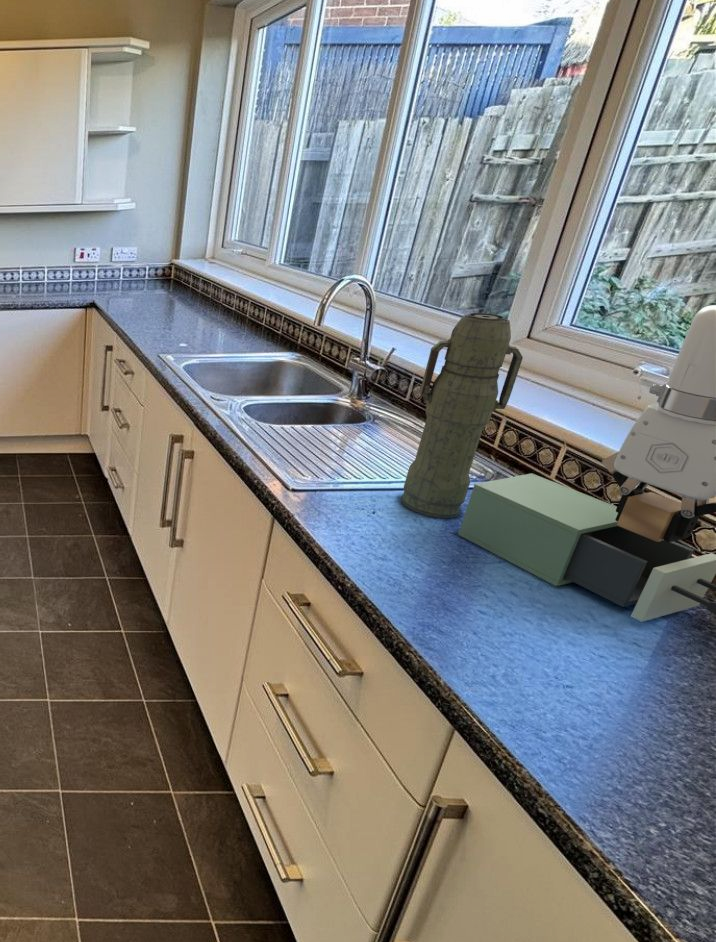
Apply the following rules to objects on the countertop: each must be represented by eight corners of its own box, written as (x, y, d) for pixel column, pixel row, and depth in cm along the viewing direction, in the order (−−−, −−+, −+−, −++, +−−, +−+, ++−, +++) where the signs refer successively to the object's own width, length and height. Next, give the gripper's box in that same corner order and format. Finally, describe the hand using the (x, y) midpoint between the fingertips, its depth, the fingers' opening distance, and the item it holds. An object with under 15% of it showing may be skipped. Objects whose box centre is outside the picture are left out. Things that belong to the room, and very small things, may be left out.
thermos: (385, 489, 118) (434, 308, 105) (460, 500, 114) (520, 312, 101) (396, 511, 110) (450, 319, 97) (476, 524, 106) (543, 324, 93)
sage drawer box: (616, 571, 93) (641, 516, 90) (556, 586, 90) (579, 530, 86) (513, 522, 106) (531, 473, 103) (457, 534, 103) (474, 483, 100)
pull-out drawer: (749, 629, 80) (777, 579, 77) (690, 647, 77) (717, 596, 74) (584, 552, 96) (602, 508, 93) (530, 564, 94) (547, 520, 91)
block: (680, 536, 83) (694, 507, 81) (657, 542, 82) (670, 512, 80) (638, 520, 87) (650, 491, 85) (616, 525, 86) (628, 496, 84)
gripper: (602, 387, 84) (558, 504, 91) (782, 433, 69) (714, 569, 76) (640, 382, 86) (594, 497, 93) (824, 424, 71) (754, 558, 77)
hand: (649, 528), depth 84 cm, fingers closed on block, 4 cm apart
